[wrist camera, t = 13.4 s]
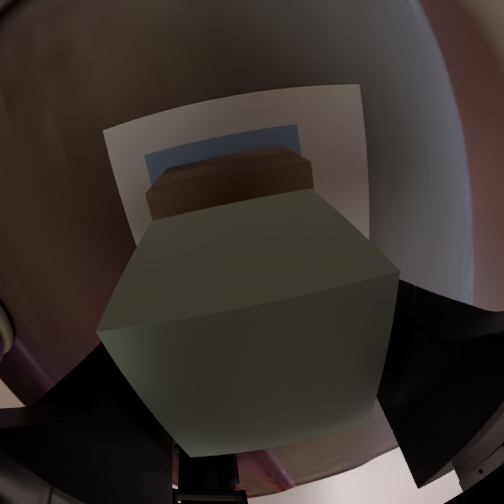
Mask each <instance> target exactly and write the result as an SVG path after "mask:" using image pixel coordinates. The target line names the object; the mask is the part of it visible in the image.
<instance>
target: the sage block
mask: <svg viewBox="0 0 504 504" xmlns="http://www.w3.org/2000/svg"><path fill="white" fill-rule="evenodd" d="M399 275H400V270H399V269H398V268H397V267H396V266H395V265H394V264H393V263H392V262H391V261H390V260H389V259H388V258H387V257H386V256H385V255H384V254H383V253H382V252H381V251H380V250H379V249H378V248H377V247H376V246H375V245H374V244H373V243H372V242H371V241H370V240H369V239H367V238H366V237H365V236H364V235H363V234H362V233H361V232H360V231H359V230H358V229H357V228H356V227H355V226H354V225H352V224H351V223H350V222H349V221H348V220H347V219H346V218H345V217H344V216H343V215H341V214H340V213H339V212H338V211H337V210H336V209H335V208H334V207H332V206H331V205H330V204H329V203H328V202H327V201H326V200H324V199H323V198H322V197H321V196H320V195H319V194H318V193H316V192H315V191H314V190H313V189H312V188H311V189H305V190H299V191H293V192H287V193H282V194H276V195H271V196H266V197H260V198H255V199H250V200H245V201H240V202H235V203H230V204H225V205H221V206H216V207H211V208H207V209H202V210H197V211H193V212H189V213H184V214H180V215H175V216H171V217H167V218H163V219H159V220H154V221H151V222H150V224H149V226H148V227H147V229H146V231H145V233H144V235H143V236H142V238H141V240H140V242H139V244H138V245H137V247H136V249H135V251H134V253H133V255H132V257H131V259H130V261H129V263H128V264H127V266H126V268H125V270H124V272H123V274H122V276H121V278H120V280H119V282H118V284H117V286H116V289H115V291H114V293H113V295H112V297H111V299H110V301H109V303H108V305H107V308H106V310H105V312H104V314H103V316H102V319H101V321H100V323H99V325H98V328H97V330H96V333H97V334H98V336H99V338H100V339H101V341H102V343H103V344H104V346H105V347H106V349H107V351H108V352H109V354H110V355H111V357H112V358H113V360H114V362H115V363H116V365H117V366H118V368H119V369H120V370H121V372H122V373H123V375H124V376H125V378H126V379H127V381H128V382H129V383H130V385H131V386H132V388H133V389H134V390H135V392H136V393H137V394H138V396H139V397H140V398H141V400H142V401H143V402H144V404H145V405H146V406H147V407H148V409H149V410H150V411H151V413H152V414H153V415H154V416H155V417H156V419H157V420H158V421H159V422H160V424H161V425H162V426H163V427H164V428H165V430H166V431H167V432H168V433H169V434H170V435H171V436H172V438H173V439H174V440H175V441H176V442H177V443H178V444H179V445H180V447H181V448H182V449H183V450H184V451H185V452H186V453H187V454H188V455H189V456H190V457H201V456H214V455H224V454H233V453H241V452H248V451H255V450H261V449H267V448H272V447H277V446H282V445H287V444H292V443H297V442H301V441H305V440H309V439H313V438H317V437H321V436H325V435H328V434H332V433H335V432H339V431H342V430H345V429H348V428H351V427H355V426H358V425H361V424H364V423H366V422H369V419H370V416H371V413H372V409H373V406H374V402H375V399H376V395H377V391H378V388H379V384H380V380H381V376H382V372H383V368H384V363H385V359H386V354H387V350H388V345H389V340H390V335H391V329H392V324H393V318H394V312H395V305H396V298H397V291H398V283H399Z"/></svg>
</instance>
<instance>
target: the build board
mask: <svg viewBox="0 0 504 504" xmlns="http://www.w3.org/2000/svg"><path fill="white" fill-rule="evenodd" d="M103 133H104V138H105V142H106V146H107V150H108V154H109V158H110V161H111V165H112V169H113V173H114V176H115V180H116V183H117V187H118V190H119V193H120V197H121V200H122V203H123V206H124V210H125V213H126V216H127V219H128V222H129V225H130V228H131V231H132V234H133V237H134V240H135V243H136V245H138V244H139V242H140V240H141V238H142V236H143V235H144V233H145V231H146V229H147V227H148V226H149V224H150V222H151V221H153V220H152V217H151V213H150V210H149V206H148V203H147V199H146V196H145V193H146V192H147V191H148V190H149V188H150V187H151V186H152V185H153V184H154V183H155V182H156V180H157V179H158V178H159V177H160V176H161V175H162V174H163V173H164V171H165V170H166V169H167V168H170V167H174V166H179V165H183V164H187V163H192V162H196V161H201V160H206V159H210V158H215V157H220V156H226V155H231V154H236V153H242V152H248V151H253V150H260V149H266V148H272V147H279V146H283V147H285V148H287V149H289V150H291V151H292V152H294V153H296V154H298V155H300V156H302V157H304V158H305V159H307V160H309V161H311V165H312V175H313V185H314V191H315V192H316V193H318V194H319V195H320V196H321V197H322V198H323V199H324V200H326V201H327V202H328V203H329V204H330V205H331V206H332V207H334V208H335V209H336V210H337V211H338V212H339V213H340V214H341V215H343V216H344V217H345V218H346V219H347V220H348V221H349V222H350V223H351V224H352V225H354V226H355V227H356V228H357V229H358V230H359V231H360V232H361V233H362V234H363V235H364V236H365V237H366V238H367V239H369V184H368V164H367V149H366V137H365V126H364V117H363V108H362V100H361V93H360V86H359V84H343V85H320V86H306V87H294V88H284V89H275V90H267V91H260V92H253V93H246V94H240V95H234V96H229V97H223V98H218V99H213V100H208V101H203V102H199V103H194V104H190V105H186V106H182V107H178V108H174V109H170V110H166V111H163V112H159V113H155V114H152V115H149V116H145V117H142V118H139V119H135V120H132V121H129V122H126V123H123V124H120V125H117V126H114V127H111V128H109V129H106V130H103Z"/></svg>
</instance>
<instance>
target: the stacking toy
mask: <svg viewBox="0 0 504 504" xmlns="http://www.w3.org/2000/svg"><path fill="white" fill-rule="evenodd" d="M12 344H13V330H12V327H11V324H10V321H9V319H8V317H7V315H6V313H5V312H4V310H3V308H2V307H1V305H0V362H1V360H2V357H3V354H4V353H6V352H8V351H9V349H10V348H11V346H12Z"/></svg>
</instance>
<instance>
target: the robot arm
mask: <svg viewBox="0 0 504 504" xmlns="http://www.w3.org/2000/svg"><path fill="white" fill-rule="evenodd" d="M376 397H377V399H378V401H379V403H380V405H381V407H382V410H383V412H384V414H385V416H386V418H387V420H388V422H389V424H390V427H391V429H392V430H393V433H394V436H395V438H396V440H397V442H398V444H399V447H400V449H401V451H402V453H403V455H404V458H405V460H406V462H407V464H408V467H409V469H410V472H411V474H412V476H413V479H414V481H415V483H416V485H417V488H418V489H419V488H421V487H423V486H425V485H427V484H429V483H431V482H433V481H434V480H436V479H438V478H440V477H442V476H444V475H445V474H447V473H449V472H450V471H452V470H455V472H456V474H457V476H458V478H459V480H460V481H459V484H460V486H461V488H462V490H463V492H462V493H461V494H459V495H457V496H456V497H454V498H453V499H451V500H449V501H448V502H446V503H444V504H504V311H501V312H494V311H488V310H484V309H481V308H478V307H475V306H472V305H469V304H466V303H463V302H460V301H456V300H453V299H450V298H447V297H444V296H441V295H438V294H436V293H433V292H431V291H428V290H425V289H423V288H420V287H418V286H415V287H414V285H413V284H410V283H408V282H405V281H403V280H400V279H399V283H398V291H397V298H396V305H395V312H394V318H393V324H392V329H391V335H390V340H389V345H388V350H387V354H386V359H385V363H384V368H383V372H382V376H381V380H380V384H379V388H378V391H377V395H376ZM174 451H175V452H176V453H177V454H178V455H179V464H178V489H175V488H172V460H173V438H172V436H171V435H170V434H169V433H168V432H167V431H166V430H165V428H164V427H163V426H162V425H161V424H160V422H159V421H158V420H157V419H156V417H155V416H154V415H153V414H152V413H151V411H150V410H149V409H148V407H147V406H146V405H145V404H144V402H143V401H142V400H141V398H140V397H139V396H138V394H137V393H136V392H135V390H134V389H133V388H132V386H131V385H130V383H129V382H128V381H127V379H126V378H125V376H124V375H123V373H122V372H121V370H120V369H119V368H118V366H117V365H116V363H115V362H114V360H113V358H112V357H111V355H110V354H109V352H108V351H107V349H106V347H105V346H104V344H103V343H102V342H101V343H100V344H99V345H98V346H97V347H96V348H95V349H94V351H92V352H91V353H90V354H89V355H88V356H87V357H86V358H84V359H83V360H82V361H81V362H80V363H79V364H78V365H77V366H76V367H75V368H74V369H73V370H72V371H71V372H69V373H68V374H67V375H66V376H65V377H64V378H63V379H62V380H60V381H59V382H58V383H57V384H56V385H55V386H53V387H52V388H51V389H50V390H49V391H48V392H47V393H45V394H44V395H43V396H42V397H41V398H40V399H38V400H37V401H36V402H34V403H32V404H30V405H28V406H25V407H19V408H3V409H0V504H248V501H247V496H246V491H245V490H240V491H236V489H235V485H238V484H239V474H238V465H237V458H236V456H235V455H234V453H233V454H224V455H214V456H201V457H190V456H189V455H188V454H187V453H186V452H185V451H184V450H183V449H182V448H181V447H180V446H174ZM178 501H181V503H178Z"/></svg>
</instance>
